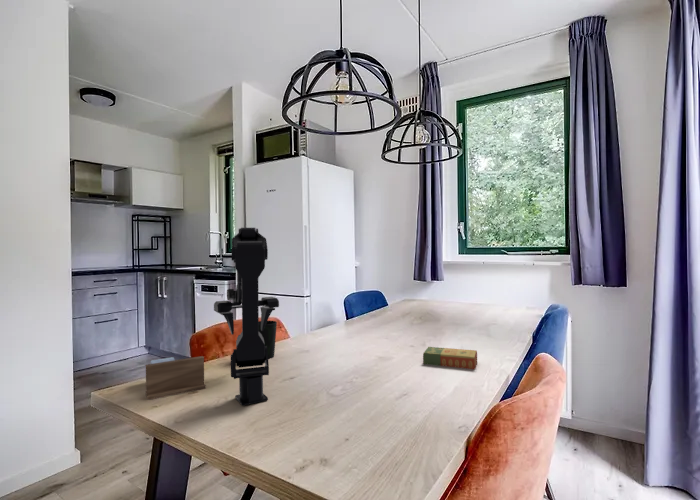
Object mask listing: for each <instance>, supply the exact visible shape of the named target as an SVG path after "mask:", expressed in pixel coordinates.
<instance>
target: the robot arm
mask: <svg viewBox="0 0 700 500" xmlns="http://www.w3.org/2000/svg"><path fill="white" fill-rule="evenodd" d="M268 250H269V249H268V242H267V238H266V237H265V236H263V235H262V234H261V233H259V228H256V227H240V228H238V233H237V234H235V236H234V237H232V238H231V250H230V251H231V261H233V263H234V268H235V271H236V280H237V281H236V286H235V287H236V288H235V289H234V288H228V289H227V290H226V300H219V301H215V302H214V303H213V311H214V312H216V313H217V314H220V315H221V316H223V317H224V319H225V320H226V324H227V326H228V328H229V331H230V334H231V335H234V334H235V324H234V313H233V312H232V310H233V309H241V324H242V325H241V328H242V329H241V332H240V334H238V336H237V337H236V340H235V343H236V344H235V345H236V348H234V349H233V351H232V353H231V355H230V378H233V379H234V380H237V379H239V380H238V381H239V388H238V389H239V394H236V395H235V396H234V398H235V399H236V400H237V402H238V403H239V404H240V405H241V406H242V407H243V406H244V407H245V406H247V405H252V404H257V403H261V402H265V401H268V400H269V397H268V396H267V395H266V394H265V393H264V376H269V375H270V367H269V366H270V365H269V359H268V351H267V346H266V347H265V343H264V338H263V337H262V335H261V333H260V332H259V318H260V321H261V331H263V330H264V328H265V325H266V323H267V321H269V318H270V316H271V315H272V312H273V311H276V308H280V301H279V298H278V297H275V296H266V297H265V296H264V297H261V299H260V300H259V278H260V276H261V275H262V273H263V271H264V270H265V267H266V266H265V265H266V260H268V258H269V257H268V254H269V252H268ZM231 300H232V301H231ZM259 307H260V310H259ZM259 311H260V313H261V314H260V315H261V316H260V315H259ZM259 316H260V317H259ZM263 365H264V366H263ZM257 366H258V367H257ZM237 367H238V369H237Z"/></svg>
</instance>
